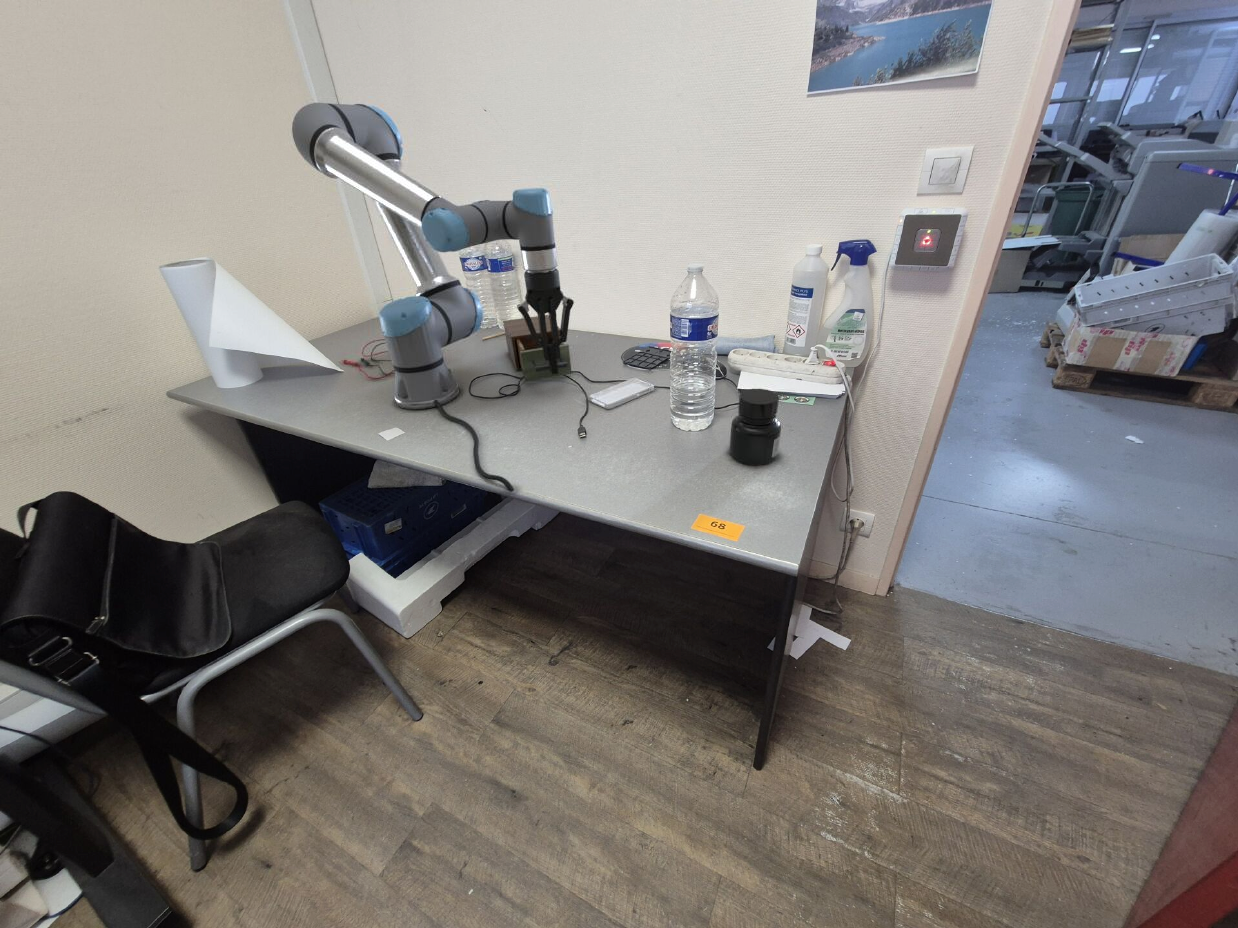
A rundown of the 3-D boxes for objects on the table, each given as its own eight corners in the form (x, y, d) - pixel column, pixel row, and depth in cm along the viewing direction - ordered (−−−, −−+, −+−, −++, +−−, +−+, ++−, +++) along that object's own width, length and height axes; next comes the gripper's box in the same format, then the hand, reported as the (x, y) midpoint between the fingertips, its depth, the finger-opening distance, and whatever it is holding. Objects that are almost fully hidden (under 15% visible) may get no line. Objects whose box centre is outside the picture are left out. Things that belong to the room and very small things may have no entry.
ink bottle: (786, 463, 92) (795, 404, 86) (741, 470, 91) (747, 411, 85) (763, 438, 100) (769, 382, 94) (721, 445, 99) (725, 388, 93)
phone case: (634, 382, 128) (588, 400, 120) (634, 377, 127) (588, 395, 119) (654, 390, 123) (608, 410, 115) (654, 385, 122) (608, 404, 114)
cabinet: (564, 363, 142) (560, 329, 137) (516, 370, 139) (511, 336, 134) (552, 345, 156) (548, 314, 151) (508, 352, 153) (503, 321, 147)
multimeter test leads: (412, 330, 162) (442, 347, 145) (416, 343, 165) (446, 362, 148) (335, 347, 150) (358, 369, 133) (340, 362, 153) (363, 384, 136)
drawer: (577, 382, 127) (574, 353, 123) (529, 391, 124) (524, 361, 120) (558, 355, 145) (555, 329, 141) (516, 362, 142) (511, 335, 138)
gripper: (566, 263, 114) (576, 362, 126) (508, 270, 110) (524, 371, 123) (574, 269, 107) (584, 372, 120) (513, 276, 104) (530, 382, 117)
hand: (554, 372), depth 121 cm, fingers closed
